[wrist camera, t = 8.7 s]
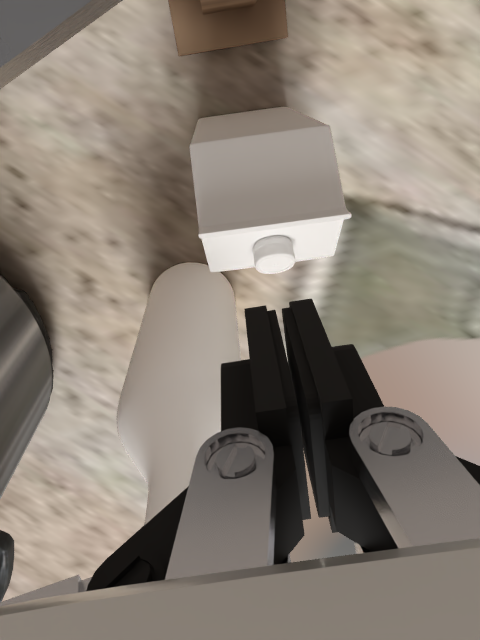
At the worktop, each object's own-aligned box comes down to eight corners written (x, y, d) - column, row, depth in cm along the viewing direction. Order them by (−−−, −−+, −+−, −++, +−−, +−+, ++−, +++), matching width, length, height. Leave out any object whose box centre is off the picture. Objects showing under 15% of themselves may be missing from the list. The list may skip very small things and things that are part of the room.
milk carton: (197, 118, 36) (184, 156, 19) (287, 105, 36) (351, 133, 19) (211, 207, 40) (210, 305, 23) (293, 195, 39) (352, 286, 23)
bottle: (244, 325, 45) (288, 678, 19) (166, 346, 46) (103, 714, 20) (221, 250, 41) (235, 561, 15) (137, 274, 42) (9, 611, 16)
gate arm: (267, -290, 12) (282, -388, 10) (333, -103, 14) (359, -142, 12) (-252, 134, 17) (-340, 145, 14) (-148, 235, 19) (-208, 262, 16)
